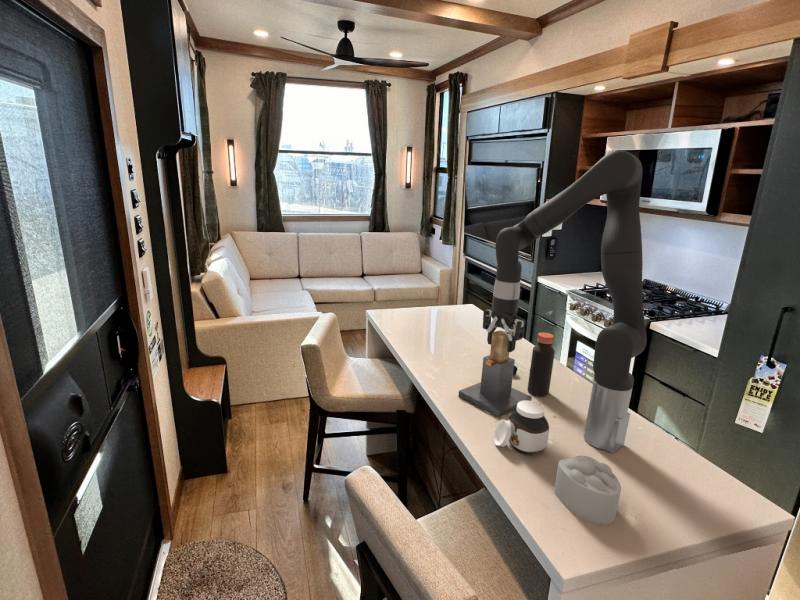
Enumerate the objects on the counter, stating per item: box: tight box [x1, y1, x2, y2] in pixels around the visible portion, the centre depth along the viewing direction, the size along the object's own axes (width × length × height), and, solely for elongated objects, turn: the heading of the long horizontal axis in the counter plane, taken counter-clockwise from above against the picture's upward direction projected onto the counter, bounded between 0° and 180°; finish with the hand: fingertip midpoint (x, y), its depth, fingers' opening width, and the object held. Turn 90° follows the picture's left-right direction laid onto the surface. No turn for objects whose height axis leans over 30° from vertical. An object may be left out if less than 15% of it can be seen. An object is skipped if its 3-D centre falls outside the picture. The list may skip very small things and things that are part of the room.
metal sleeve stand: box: [457, 354, 533, 419], centre depth 139 cm, size 16×16×14 cm
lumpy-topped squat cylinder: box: [553, 455, 622, 526], centre depth 97 cm, size 10×13×9 cm
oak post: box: [489, 329, 510, 363], centre depth 138 cm, size 4×4×20 cm
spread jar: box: [493, 400, 550, 455], centre depth 116 cm, size 12×11×12 cm
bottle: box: [527, 331, 556, 398], centre depth 145 cm, size 7×7×20 cm
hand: (500, 347), depth 136 cm, fingers open, 7 cm apart
